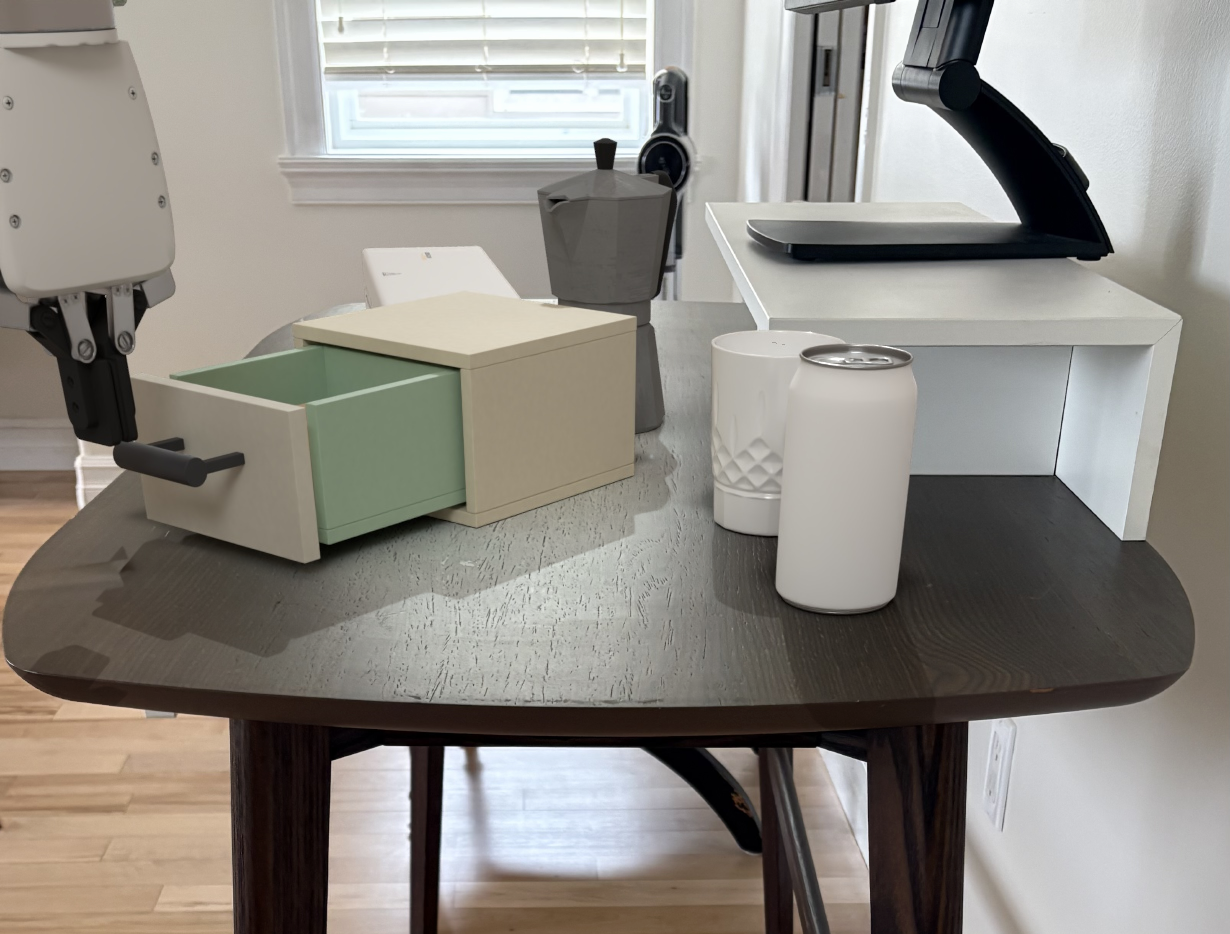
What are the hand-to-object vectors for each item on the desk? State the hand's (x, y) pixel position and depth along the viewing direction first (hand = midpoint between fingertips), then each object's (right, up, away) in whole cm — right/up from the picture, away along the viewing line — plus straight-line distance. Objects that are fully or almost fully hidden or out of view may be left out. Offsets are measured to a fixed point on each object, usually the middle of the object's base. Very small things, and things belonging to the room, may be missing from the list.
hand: (107, 438), depth 81 cm
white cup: (+35, +1, +15) cm, 39 cm away
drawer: (+7, 0, +12) cm, 14 cm away
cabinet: (+17, +7, +22) cm, 29 cm away
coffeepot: (+26, +17, +37) cm, 48 cm away
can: (+38, -7, +4) cm, 39 cm away
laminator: (+12, +30, +55) cm, 63 cm away
